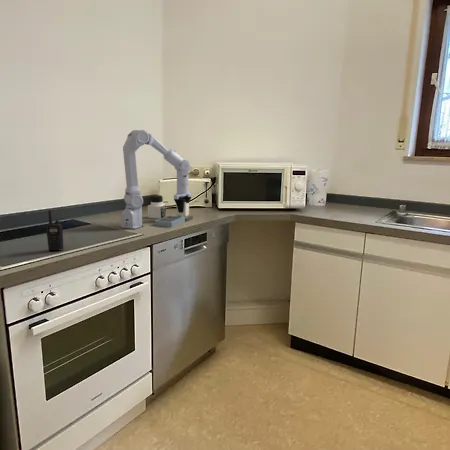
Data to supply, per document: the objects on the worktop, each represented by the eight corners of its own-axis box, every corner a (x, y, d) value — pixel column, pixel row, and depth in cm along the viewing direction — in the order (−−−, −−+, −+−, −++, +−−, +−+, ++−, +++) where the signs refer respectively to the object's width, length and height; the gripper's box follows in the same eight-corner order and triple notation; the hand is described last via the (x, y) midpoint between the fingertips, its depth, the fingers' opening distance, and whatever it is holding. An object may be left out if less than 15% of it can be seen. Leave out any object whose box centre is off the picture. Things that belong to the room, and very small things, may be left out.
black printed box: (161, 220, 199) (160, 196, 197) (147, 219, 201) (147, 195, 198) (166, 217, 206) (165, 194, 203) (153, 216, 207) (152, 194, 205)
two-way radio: (47, 251, 143) (43, 211, 140) (50, 248, 147) (46, 208, 144) (63, 251, 144) (59, 210, 141) (65, 247, 148) (62, 208, 145)
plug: (185, 216, 195) (185, 202, 193) (176, 215, 196) (176, 202, 195) (188, 214, 198) (188, 201, 196) (180, 214, 200) (180, 201, 198)
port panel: (171, 228, 181) (171, 222, 180) (154, 226, 184) (154, 220, 183) (185, 223, 193) (185, 216, 192) (168, 221, 196) (168, 215, 195)
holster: (186, 223, 193) (186, 218, 193) (172, 221, 196) (172, 217, 196) (193, 220, 200) (193, 216, 199) (179, 218, 203) (179, 214, 202)
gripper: (182, 186, 186) (183, 214, 189) (196, 183, 199) (196, 210, 202) (169, 185, 188) (170, 213, 191) (183, 182, 202) (184, 208, 204)
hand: (182, 211), depth 197 cm, fingers closed on plug, 4 cm apart
